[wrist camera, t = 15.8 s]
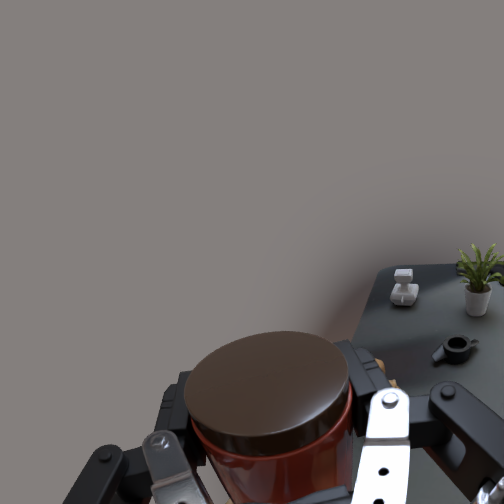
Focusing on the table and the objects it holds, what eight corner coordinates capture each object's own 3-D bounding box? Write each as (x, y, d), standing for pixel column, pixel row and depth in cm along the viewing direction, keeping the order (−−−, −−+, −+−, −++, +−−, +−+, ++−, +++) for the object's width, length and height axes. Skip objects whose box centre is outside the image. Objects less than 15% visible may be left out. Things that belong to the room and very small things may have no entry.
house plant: (505, 297, 61) (510, 235, 57) (507, 327, 51) (517, 255, 47) (456, 295, 70) (457, 234, 66) (450, 323, 60) (454, 254, 56)
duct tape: (433, 343, 56) (434, 331, 56) (478, 344, 51) (480, 332, 50) (429, 366, 50) (431, 354, 50) (479, 368, 45) (481, 355, 44)
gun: (456, 287, 75) (455, 267, 86) (517, 285, 64) (509, 265, 75) (456, 278, 74) (455, 259, 86) (518, 277, 63) (509, 258, 75)
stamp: (414, 311, 70) (414, 279, 67) (389, 310, 73) (387, 279, 71) (419, 294, 76) (419, 264, 74) (395, 293, 80) (394, 264, 78)
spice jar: (273, 574, 10) (200, 466, 7) (239, 505, 15) (170, 359, 12) (368, 530, 11) (388, 382, 8) (321, 471, 17) (301, 314, 13)
